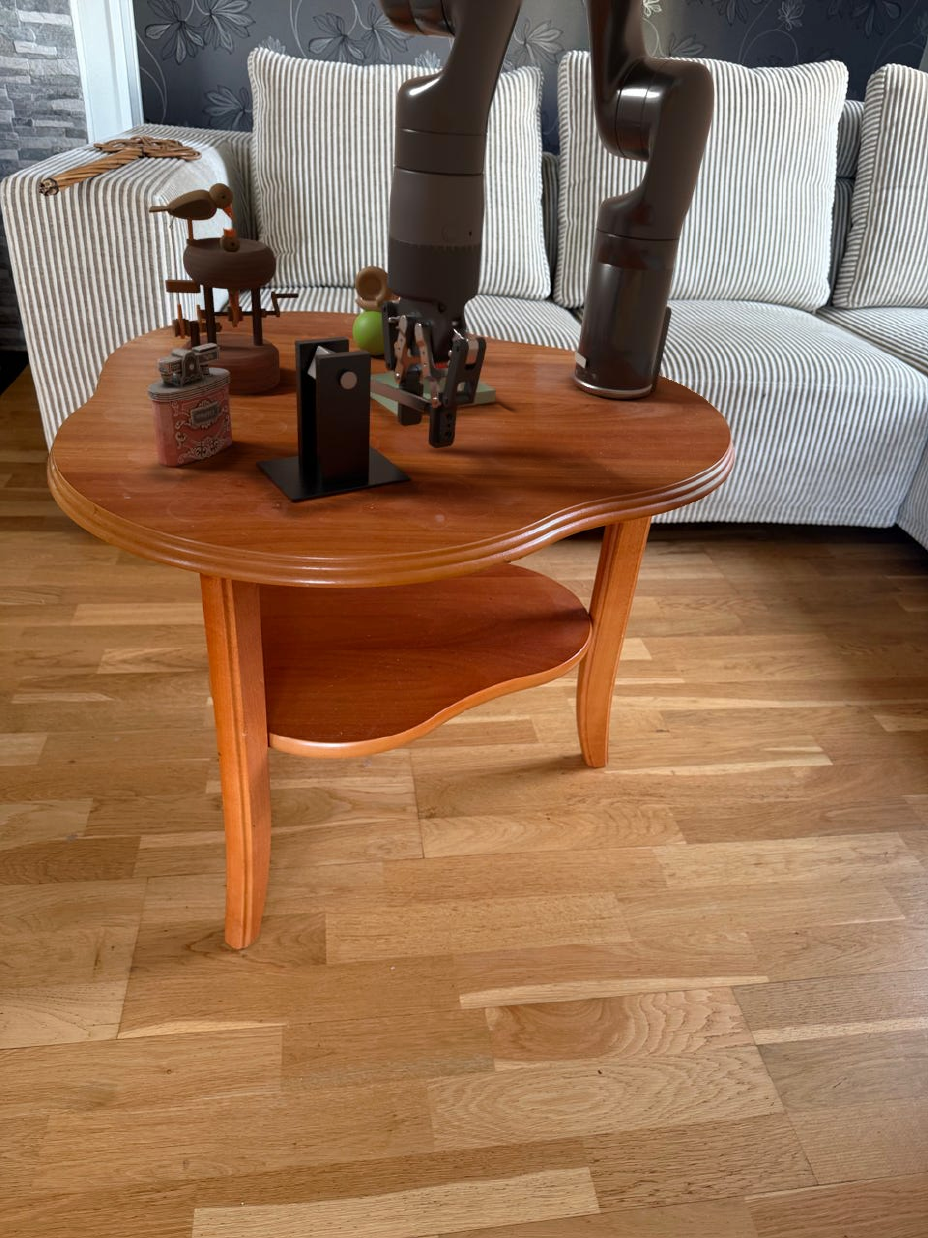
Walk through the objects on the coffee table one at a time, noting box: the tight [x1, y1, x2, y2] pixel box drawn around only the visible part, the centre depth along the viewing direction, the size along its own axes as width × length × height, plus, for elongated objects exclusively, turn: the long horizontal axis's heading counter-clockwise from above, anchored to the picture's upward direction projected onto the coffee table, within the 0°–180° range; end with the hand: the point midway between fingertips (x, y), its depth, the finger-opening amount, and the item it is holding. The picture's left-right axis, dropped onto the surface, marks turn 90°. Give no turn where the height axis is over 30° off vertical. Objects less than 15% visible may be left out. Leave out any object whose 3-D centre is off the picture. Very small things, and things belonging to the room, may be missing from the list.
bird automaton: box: [148, 182, 300, 395], centre depth 92 cm, size 15×11×20 cm
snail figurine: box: [352, 265, 400, 357], centre depth 105 cm, size 5×6×12 cm
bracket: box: [255, 336, 412, 504], centre depth 73 cm, size 11×8×12 cm
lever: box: [308, 346, 432, 418], centre depth 74 cm, size 12×5×2 cm, turn 122°
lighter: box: [146, 343, 234, 469], centre depth 75 cm, size 8×3×10 cm, turn 148°
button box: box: [370, 361, 497, 416], centre depth 94 cm, size 12×9×4 cm
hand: (424, 433), depth 79 cm, fingers closed on lever, 5 cm apart
